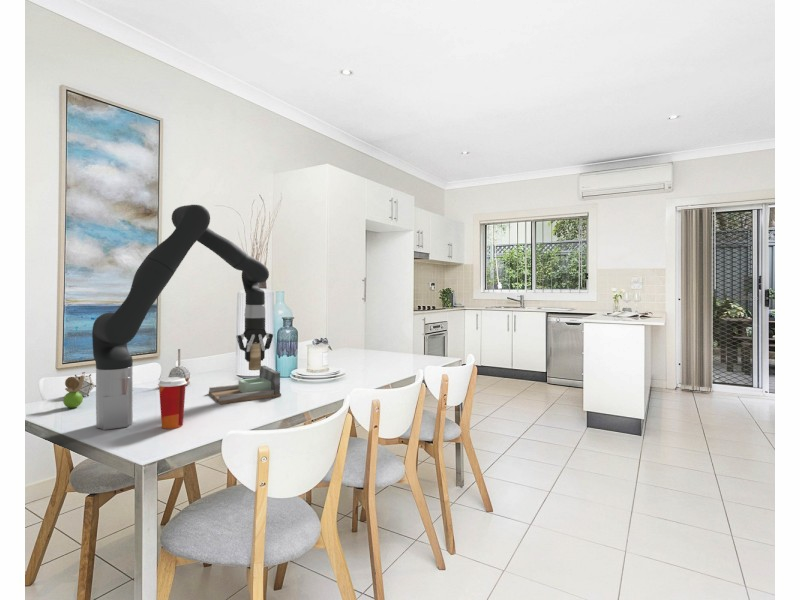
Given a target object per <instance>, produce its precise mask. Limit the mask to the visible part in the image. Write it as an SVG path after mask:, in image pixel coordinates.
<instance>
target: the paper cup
mask: <svg viewBox="0 0 800 600" xmlns="http://www.w3.org/2000/svg"><path fill="white" fill-rule="evenodd" d="M186 383H187V382H186V380H185V378H181V377H170V378H168V377H165V378H161V379H159V381H158V383H157V386H158V388H159V389H158V390H159V391H158V392H159V405H160V406H159V407H160V408H159V409H160V418H161V419H160V421H161V429H164V430H173V429H178V428H180V427H183V425H184V413H185V403H186V402H185V398H186V386H187V385H186Z"/></svg>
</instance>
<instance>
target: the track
mask: <svg viewBox="0 0 800 600" xmlns="http://www.w3.org/2000/svg"><path fill="white" fill-rule="evenodd" d="M262 377H263V378H265V379H267V380H269V381H270V382H271V390H264V391H256V392H248V393H242V392H240V391H239V383H238V384H230V385H221V386H220V385H219V386H212V387H210V386H209V389H208V395H210V397H212V398H213V399H214V400H215V401H216V402H217V403H218V404H220V405H223V404H224V405H225V404H227V405H228V404H234V403H242V402H248V401H256V400H257V399H258V400H265V398H266V399H271V398H272V397H273V398H280V397H279V396H281V397H282V393H281V372H279V371H277V370H275V369H272V368H270V367H269V366H266V365H261V369H260V370H259V378H262Z"/></svg>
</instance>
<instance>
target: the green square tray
mask: <svg viewBox="0 0 800 600" xmlns="http://www.w3.org/2000/svg"><path fill="white" fill-rule="evenodd" d="M238 384H239V391H240V392H242V393H248V392H256V391H264V390H271V382H270V381H269V380H267V379H265V378H263V377H262V378H260V377H254V378H245V379H238Z"/></svg>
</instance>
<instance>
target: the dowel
mask: <svg viewBox="0 0 800 600" xmlns="http://www.w3.org/2000/svg"><path fill="white" fill-rule="evenodd" d="M249 352H250V362H248V370H249V371H260V369H261V366H262V361H261V344H260V343H252V346H251V348H250V351H249Z"/></svg>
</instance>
